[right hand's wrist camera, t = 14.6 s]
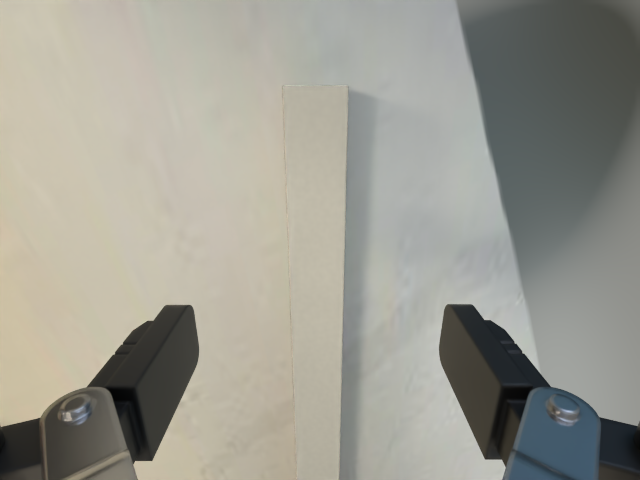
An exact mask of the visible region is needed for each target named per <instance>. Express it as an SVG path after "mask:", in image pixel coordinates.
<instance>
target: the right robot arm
mask: <svg viewBox="0 0 640 480" xmlns="http://www.w3.org/2000/svg"><path fill="white" fill-rule="evenodd" d="M439 355H440V361H441V364H442V367H443V369H444V371H445V373H446V376H447V378H448V380H449V382H450V384H451V386H452V389H453V391H454V393H455V395H456V397H457V399H458V402H459V404H460V406H461V408H462V410H463V412H464V415H465V417H466V419H467V421H468V423H469V425H470V428H471V430H472V432H473V434H474V436H475V438H476V441H477V443H478V445H479V447H480V449H481V452H482V454H483V456H484V458H485V459H502V460H503V462H504V464H505V466H506V469H505V473H504V476H503V479H502V480H640V422H639V424H638V426H634V425H630V424H625V423H621V422H617V421H613V420H608V419H604V418H600V417H599V416H598V415H597V413H596V412H595V410H594V409H593V408H592V407H591V406H590V405H589V404H587V403H586V402H585V401H584V400H582V399H581V398H579V397H577V396H575V395H574V394H572V393H569V392H567V391H564V390H561V389H558V388H553V387H551V386H550V385H549V384H548V383H547V381H546V380H545V379H544V378H543V377H542V375H541V374H540V373H539V372H538V370H537V369H536V368H535V367H534V365H533V364H532V363H531V362H530V360H529V359H528V358H527V357H526V355H525V354H522V350H521V349H520V348H519V347H518V346H517V344H515V343H514V341H513V339H512V338H511V337H510V336H509V334H508V333H507V332H506V331H505V330H504V329H503V328H501V327H500V326H498V325H497V324H495V323H494V322H492V321H491V320H484V319H483V318H482V316H481V315H480V314H479V312H478V311H477V310H476V308H475V307H474V306H473V305H471V304H448V305H446V307H445V310H444V316H443V323H442V330H441V337H440V344H439ZM198 357H199V344H198V337H197V330H196V323H195V316H194V310H193V307H192V306H191V305H166V306H164V308H163V309H162V310H161V312H160V313H159V314H158V315H157V317H156V318H155V319H154V321H147V322H145V323H144V324H142V325H141V326H139V327H138V328H136V329H135V330H133V331H132V332H131V334H130V335H129V336H128V337H127V338H126V340H125V341H124V342H123V345H121V346H120V347H119V348H118V349H117V351H116V352H115V355H113V356H112V357H111V358H110V359H109V361H108V362H107V363H106V364H105V365H104V367H103V368H102V369H101V370H100V372H99V373H98V374H97V375H96V376H95V378H94V379H93V380H92V381H91V383H90V384H89V385H88V386H87V388H82V389H79V390H76V391H73V392H71V393H68V394H66V395H65V396H63V397H61V398H59V399H58V400H56V401H55V402H54V403H53V404H51V405H50V406H49V407H48V408H47V409H46V410H45V412H44V413H43V415H42V416H41V418H38V419H34V420H30V421H26V422H21V423H17V424H13V425H8V426H4V427H0V480H138V479H137V476H136V473H135V469H134V466H133V464H134V462H135V461H152V460H153V458H154V456H155V454H156V452H157V449H158V447H159V445H160V443H161V441H162V439H163V437H164V434H165V432H166V430H167V428H168V426H169V424H170V422H171V419H172V417H173V415H174V413H175V411H176V409H177V407H178V404H179V402H180V400H181V398H182V396H183V394H184V391H185V389H186V387H187V385H188V383H189V381H190V379H191V376H192V374H193V372H194V370H195V368H196V365H197V362H198Z"/></svg>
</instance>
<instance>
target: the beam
mask: <svg viewBox="0 0 640 480" xmlns="http://www.w3.org/2000/svg"><path fill="white" fill-rule="evenodd" d="M348 91H349V86H348V85H291V86H282V92H283V120H284V147H285V175H286V203H287V230H288V258H289V286H290V313H291V341H292V369H293V396H294V424H295V452H296V479H297V480H339V470H340V428H341V386H342V344H343V302H344V260H345V217H346V175H347V133H348Z"/></svg>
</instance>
